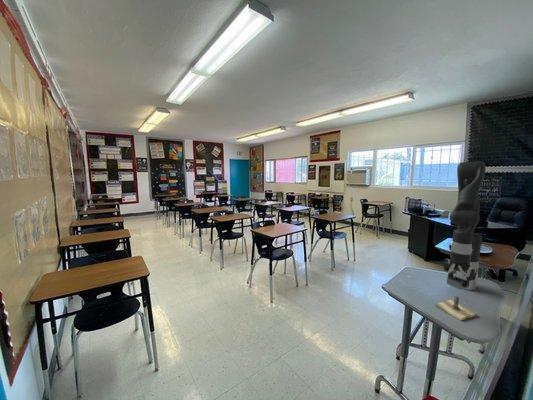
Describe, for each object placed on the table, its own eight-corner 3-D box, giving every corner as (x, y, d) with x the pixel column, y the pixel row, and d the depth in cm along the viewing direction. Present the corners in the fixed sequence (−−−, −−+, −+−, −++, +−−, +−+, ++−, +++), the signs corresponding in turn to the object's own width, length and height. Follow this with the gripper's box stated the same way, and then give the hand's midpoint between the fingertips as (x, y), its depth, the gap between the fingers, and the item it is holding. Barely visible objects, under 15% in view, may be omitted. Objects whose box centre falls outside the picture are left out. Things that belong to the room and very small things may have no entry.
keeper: (450, 301, 122) (451, 289, 121) (476, 315, 110) (478, 301, 109) (435, 305, 118) (436, 293, 117) (460, 320, 107) (462, 306, 106)
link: (455, 281, 116) (455, 276, 116) (468, 287, 110) (469, 281, 110) (446, 283, 114) (447, 278, 114) (459, 289, 109) (460, 283, 108)
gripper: (484, 255, 104) (480, 289, 107) (450, 245, 118) (447, 275, 120) (472, 257, 102) (469, 292, 104) (440, 247, 116) (437, 278, 118)
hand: (457, 283), depth 112 cm, fingers closed on link, 6 cm apart
